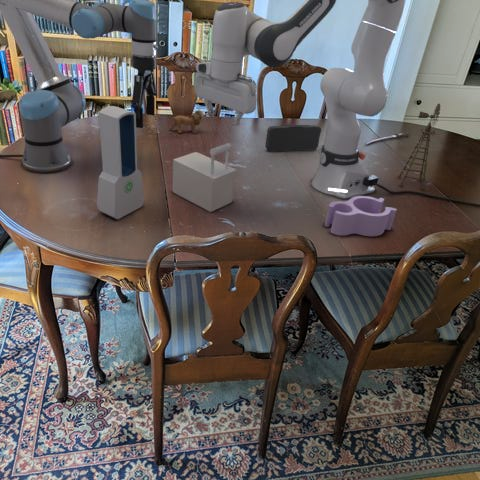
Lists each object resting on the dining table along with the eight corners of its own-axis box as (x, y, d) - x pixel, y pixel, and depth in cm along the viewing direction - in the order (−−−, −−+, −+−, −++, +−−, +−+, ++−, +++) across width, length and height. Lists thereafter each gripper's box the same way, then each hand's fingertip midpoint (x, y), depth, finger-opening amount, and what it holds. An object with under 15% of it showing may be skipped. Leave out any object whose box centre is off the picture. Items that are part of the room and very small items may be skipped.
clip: (337, 240, 135) (342, 219, 131) (318, 218, 145) (322, 198, 141) (395, 233, 141) (402, 213, 137) (373, 213, 151) (378, 194, 147)
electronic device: (115, 221, 132) (108, 118, 116) (96, 212, 135) (87, 110, 119) (145, 205, 142) (142, 107, 125) (126, 197, 145) (122, 101, 128)
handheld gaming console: (315, 147, 196) (319, 124, 190) (317, 149, 194) (322, 126, 188) (264, 149, 189) (267, 125, 183) (266, 152, 187) (269, 127, 181)
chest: (232, 201, 149) (235, 173, 144) (210, 212, 142) (212, 182, 137) (194, 183, 158) (195, 155, 152) (172, 192, 151) (172, 163, 145)
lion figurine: (200, 128, 202) (201, 108, 197) (204, 133, 198) (205, 112, 193) (167, 129, 197) (167, 108, 192) (170, 134, 193) (170, 113, 188)
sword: (404, 132, 222) (404, 130, 221) (409, 135, 220) (410, 132, 219) (360, 144, 206) (361, 142, 205) (366, 147, 204) (366, 144, 203)
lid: (236, 173, 143) (239, 145, 138) (213, 182, 137) (215, 153, 131) (195, 155, 152) (197, 127, 147) (172, 163, 145) (173, 134, 140)
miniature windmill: (423, 190, 169) (451, 109, 153) (399, 186, 170) (425, 105, 154) (420, 180, 177) (446, 101, 161) (397, 176, 178) (421, 97, 162)
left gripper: (144, 65, 136) (145, 134, 148) (165, 49, 157) (165, 111, 168) (119, 62, 136) (121, 131, 148) (144, 46, 157) (144, 108, 169)
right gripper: (264, 77, 121) (258, 128, 129) (207, 60, 132) (205, 108, 139) (248, 80, 117) (243, 133, 125) (191, 63, 128) (190, 112, 135)
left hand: (144, 121), depth 158 cm, fingers open, 13 cm apart
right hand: (222, 120), depth 132 cm, fingers open, 8 cm apart
